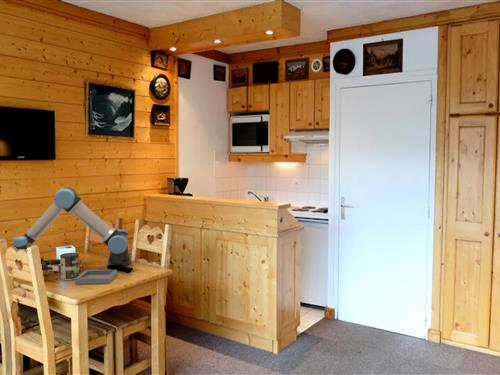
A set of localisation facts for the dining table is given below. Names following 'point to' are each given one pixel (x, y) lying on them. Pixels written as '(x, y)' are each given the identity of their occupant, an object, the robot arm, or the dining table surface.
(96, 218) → the robot arm
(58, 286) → the dining table surface
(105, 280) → the tray
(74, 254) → the coffee can
